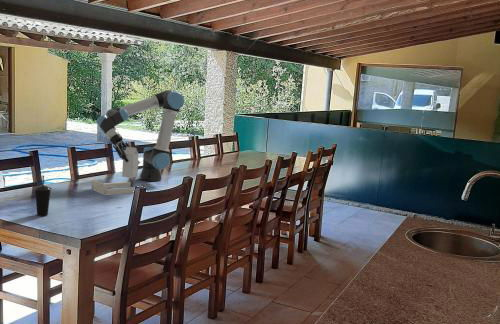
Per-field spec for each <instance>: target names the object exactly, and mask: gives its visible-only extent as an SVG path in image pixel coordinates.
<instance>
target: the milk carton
mask: <svg viewBox="0 0 500 324" xmlns="http://www.w3.org/2000/svg"><path fill="white" fill-rule="evenodd" d="M137 148H138V147H134V146H133V147H131V146H130V147H126V149H125V150H124V152H125V154H126V157H127V156H128V158H129V159H130V161H131V162H132V163H133V165H132V166H131V167H129V165H128V164H127V163H126V161H125V160H124V159H123V160H122V172H121V175H122V176H121V177H122V178H128V179H135V178H136V177H138V171H139V170H138V168H139V167H138V166H139V165H138V160H139V151H138V150H137Z"/></svg>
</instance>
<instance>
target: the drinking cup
mask: <svg viewBox="0 0 500 324" xmlns="http://www.w3.org/2000/svg"><path fill="white" fill-rule="evenodd" d="M41 183H42V185H39V186H37V187H36V186H35V187H34V193H35V194H34V195H35V204H36V205H35V206H36V216H37V215H38V216H37V217H47V216H48V215H49V208H50V207H49V206H50V199H51V190H52V187H50V186H48V185H45V184H44V183H45V175H42V180H41Z"/></svg>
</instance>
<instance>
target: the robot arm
mask: <svg viewBox="0 0 500 324" xmlns="http://www.w3.org/2000/svg"><path fill="white" fill-rule="evenodd" d="M184 104H185V97H184V96H183V94H182V93H181V92H179V91H176V90H170V89H168V90H164V91H160V92H158V93H155V94H153V95H152V96H150V97H147V98H145V99H142V100H139V101H135V102H132V103H129V104H126V105H125V104H124V105H123V106H120V107H116V108H111V109H108V110H107V111H106V113H105V114H103V115H101V116H99V117H98V118H97V120H96V124H97V125H98V127H99V128H100V129H101V131H102V132H103V133H104V134H105V136H106V137H107V139H108V140H109V142H110V143H111V144H112V147H113V148H114V150H115V151H116V153H117V155H118V157H119V159H121V160H122V161H123V159H124V160H125V161H126V163H127V164H128V165H129V167H131V166H132V165H133V163H132V162H131V161H130V159H129V158H128V156H127V157H126V154H125V152H124V151H125V149H126V147H131V146H130V145H129V143H128V142H127V141H126V142H124V141H123V139H124V138H123V136H122V135H121V133H120V132H119V130H117V128H116V126H118V125H120V124H122V123H123V122H125V121H126V120H128V119H129V118H130V116H133V115H136V114H139V113H142V112H146V111H149V110H152V109H155V108H156V109H159V108H161V109H162V110H163V114H162V118H161V124H160V127H159V131H158V135H157V140H156V143H155V146H153V147H144V148H143V157H142V159H143V160H142V169H141V173H140V175H139V180H141V181H145V182H160V181H162V175H161V171H160V170H164V169H166V168H167V167H169V166H170V164H171V157H170V152H171V150H170V149H169V146H170V144H171V139H172V134H173V129H174V127H175V122H176V117H177V114H179V113H180V110H181V108H182V107H183V106H184ZM140 164H141V162H140V160H139V159H138V166H139V165H140Z"/></svg>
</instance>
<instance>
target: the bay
mask: <svg viewBox="0 0 500 324" xmlns="http://www.w3.org/2000/svg"><path fill="white" fill-rule="evenodd" d="M133 183H134V178H129V181H120V182H119V181H118V182H105V183H103V182H101V181H98V180H96V179H91V190H93V191H95V192H97V193H99V194H101V195H103V196H109V195H121V194H122V195H123V194H134V193H133V191H134V188H135V187H136V186H134V187H133ZM141 185H142V186H143V187H145V188H146V183H142V184H141ZM142 186H141V187H142Z"/></svg>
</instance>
